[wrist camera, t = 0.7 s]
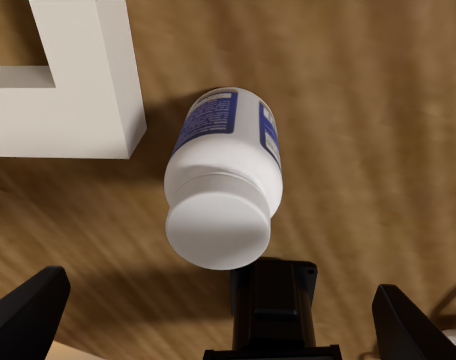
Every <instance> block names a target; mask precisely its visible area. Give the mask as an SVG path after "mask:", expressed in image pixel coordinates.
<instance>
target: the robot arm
mask: <svg viewBox="0 0 456 360" xmlns="http://www.w3.org/2000/svg"><path fill="white" fill-rule="evenodd" d="M310 269H312V270H310ZM317 273H318V271H317V266H316V265H315V264H313V263H297V262H271V261H253V262H252V263H250V264H248V265H246V266H243V267H240V268H235V269H230V286H231V314H232V315H233V316H234V326H233V342H232V350H225V351H214V350H205V353H204V357H203V360H342V356H341V352H340V348H339V344H337V345H330V346H326V347H316V342H315V335H314V328H313V321H312V314H311V305H312V300H313V294H314V289H315V284H316V278H317ZM70 288H71V287H70V283H69V280H68V277H67V275H66V272H65V269H64V268H63V267H62V266H47V267H45V268H44V269H43V270H41V271H40V272H38V273H37V274H35V275H34V276H33V277H31V278H30V279H28V280H27V281H26V282H24V283H23V284H21V285H20V286H19V287H17V288H16V289H14V290H13V291H12V292H10V293H9V294H7V295H6V296H4V297H3V298H2V299H0V360H45V358H46V356H47V353H48V351H49V349H50V347H51V344H52V342H53V339H54V337H55V334H56V331H57V328H58V326H59V323H60V320H61V317H62V314H63V311H64V308H65V305H66V302H67V300H68V297H69V294H70ZM372 312H373V318H374V324H375V329H376V335H377V341H378V346H379V352H380V358H381V360H456V346H455V344H454V343H453V342H452V341H451V340H450V339H449V338H448V337H447V336H446V335H445V334H444V333H443V332H442V331H441V330H440V329H439V328H438V327H437V326H436V325H435V324H434V323H433V322H432V321H431V320H430V319H429V318H428V317H427V316H426V315H425V314H424V313H423V312H422V311H421V310H420V309H419V308H418V307H417V306H416V305H415V304H414V303H413V302H412V301H411V300H410V299H409V298H408V297H407V296H406V295H405V294H404V293H403V292H402V291H401V290H400V289H399V288H398V287H397V286H395V285H392V284H380V285H379V286H378V288H377V291H376V294H375V297H374V300H373V303H372Z"/></svg>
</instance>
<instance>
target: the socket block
mask: <svg viewBox="0 0 456 360" xmlns="http://www.w3.org/2000/svg"><path fill="white" fill-rule="evenodd" d="M29 2H30V6H31V9H32V12H33V15H34V19H35V22H36V25H37V28H38V31H39V35H40V38H41V41H42V44H43V47H44V51H45V54H46V57H47V60H48V63H49V66H0V157H47V158H104V159H129V158H130V157H131V155H132V153H133V151H134V150H135V148H136V146H137V145H138V143H139V141H140V140H141V138H142V136H143V135H144V133H145V131H146V130H147V125H146V119H145V113H144V107H143V101H142V95H141V90H140V84H139V78H138V72H137V66H136V60H135V54H134V49H133V43H132V37H131V31H130V25H129V19H128V13H127V8H126V2H125V0H29Z"/></svg>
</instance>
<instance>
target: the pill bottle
mask: <svg viewBox="0 0 456 360" xmlns="http://www.w3.org/2000/svg"><path fill="white" fill-rule="evenodd" d="M164 190H165V195H166V199H167V201H168V204H169V206H170V209H169V212H168V215H167V219H166V235H167V238H168V241H169V243H170V244H171V246H172V248H173V249H174V250H175V251H176V252H177V253H178V254H179V255H180V256H181V257H182V258H184V259H185V260H187V261H189V262H190V263H193V264H195V265H197V266H200V267H203V268H208V269H213V270H230V269H235V268H240V267H243V266H246V265H248V264H250V263H252V262H253V261H255V260H256V259H257V258H259V257H260V256H261V255H262V254H263V252H264V251H265V249H266V248H267V246H268V243H269V240H270V218H271V217H272V216H273V215H274V213H275V212H276V210H277V208H278V206H279V204H280V201H281V197H282V190H283V184H282V172H281V163H280V156H279V146H278V137H277V129H276V123H275V119H274V116H273V114H272V112H271V110H270V109H269V107H268V106H267V104H266V103H265V102H264V101H263V100H262V99H260V98H259V97H258V96H256V95H255V94H253V93H252V92H250V91H247V90H244V89H241V88H235V87H224V88H218V89H215V90H212V91H209V92H207V93H205V94H204V95H202V96H201V97H200V98H199V99H198V100H197V101H196V102H195V103H194V104H193V105H192V107H191V108H190V110H189V112H188V114H187V117H186V119H185V122H184V124H183V127H182V130H181V132H180V135H179V137H178V140H177V143H176V145H175V148H174V150H173V153H172V155H171V157H170V160H169V162H168V165H167V169H166V172H165V177H164Z"/></svg>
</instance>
